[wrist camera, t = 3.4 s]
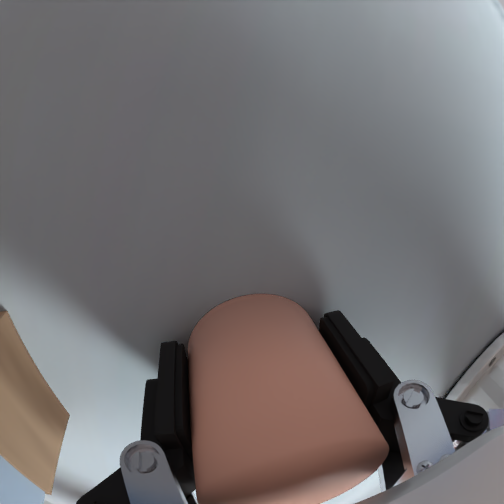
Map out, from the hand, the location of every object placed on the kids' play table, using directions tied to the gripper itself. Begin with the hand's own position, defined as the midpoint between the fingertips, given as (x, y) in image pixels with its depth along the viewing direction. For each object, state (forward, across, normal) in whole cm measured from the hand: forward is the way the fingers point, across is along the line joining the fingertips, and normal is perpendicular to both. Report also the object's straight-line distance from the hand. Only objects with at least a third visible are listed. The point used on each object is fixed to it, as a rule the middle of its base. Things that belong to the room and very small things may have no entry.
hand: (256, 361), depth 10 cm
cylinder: (+1, 0, 0) cm, 1 cm away
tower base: (+1, +13, 0) cm, 13 cm away
